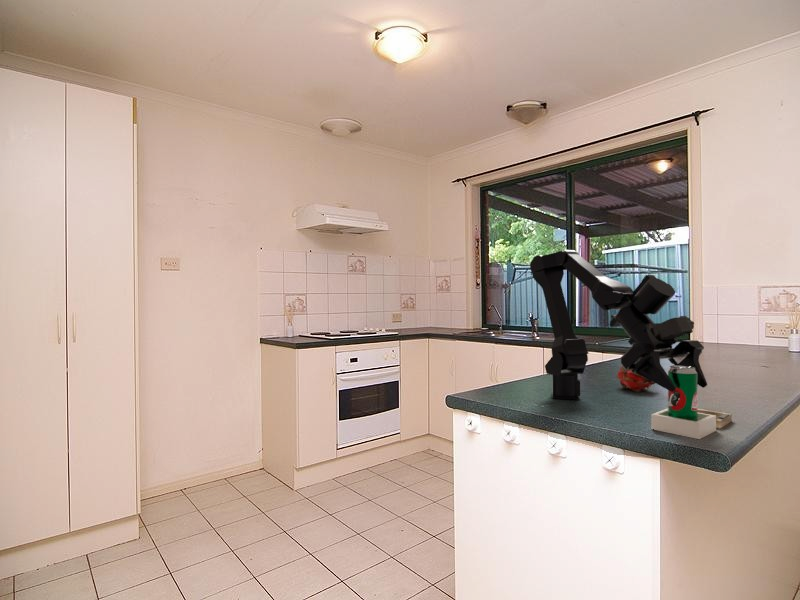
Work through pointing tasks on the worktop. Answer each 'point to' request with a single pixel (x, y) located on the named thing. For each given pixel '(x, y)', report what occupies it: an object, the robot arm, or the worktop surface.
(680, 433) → the bin
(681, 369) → the soda can
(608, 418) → the worktop surface
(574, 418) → the worktop surface
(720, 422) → the checker cradle
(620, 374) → the dragon fruit
